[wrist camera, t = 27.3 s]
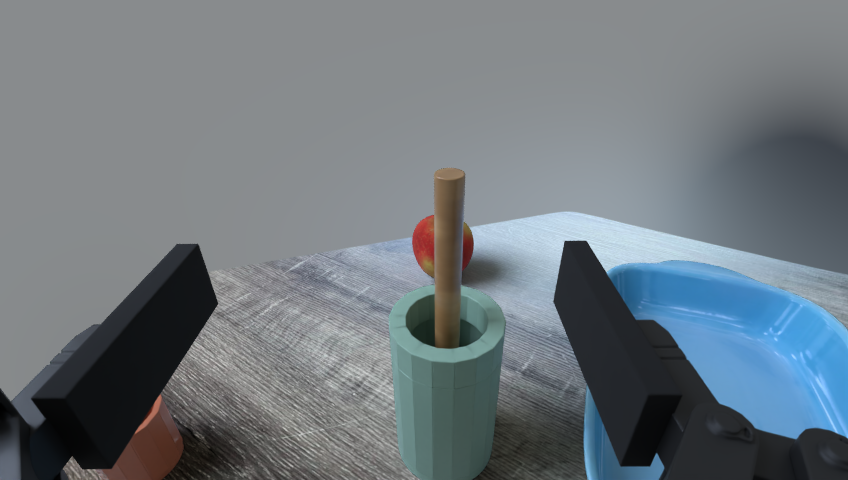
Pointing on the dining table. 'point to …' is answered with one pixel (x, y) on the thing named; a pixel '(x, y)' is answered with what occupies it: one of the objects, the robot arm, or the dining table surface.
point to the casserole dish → (735, 352)
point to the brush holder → (149, 448)
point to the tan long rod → (448, 254)
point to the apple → (425, 245)
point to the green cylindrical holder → (446, 385)
